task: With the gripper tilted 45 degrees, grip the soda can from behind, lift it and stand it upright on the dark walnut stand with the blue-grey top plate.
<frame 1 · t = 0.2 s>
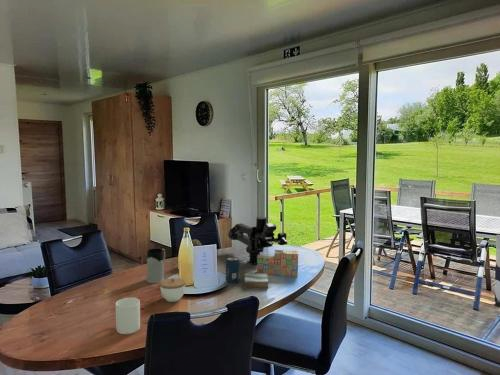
hand: (279, 244, 191), 17 cm above the table, tool horizontal, fingers open, 9 cm apart
decorative egg: (194, 266, 208), on the table
walnut stand: (256, 284, 180), on the table
lidded jar: (172, 299, 162), on the table
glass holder: (158, 278, 188), on the table
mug: (125, 328, 136), on the table
soda can: (232, 282, 183), on the table
stack of blocks: (277, 274, 196), on the table
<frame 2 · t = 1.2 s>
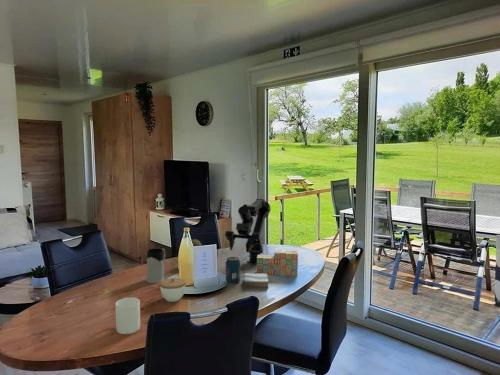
hand: (239, 250, 189), 14 cm above the table, tool tilted 45°, fingers open, 9 cm apart
nothing on the table moved.
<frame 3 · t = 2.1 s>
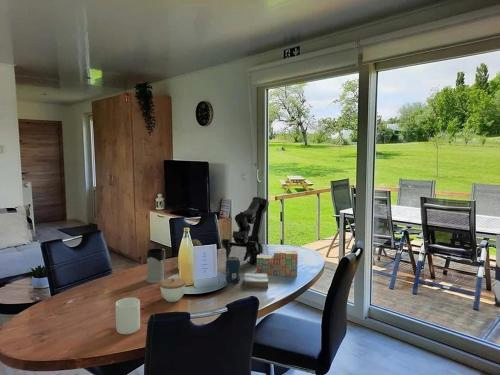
hand: (235, 259, 185), 10 cm above the table, tool tilted 45°, fingers open, 9 cm apart
nothing on the table moved.
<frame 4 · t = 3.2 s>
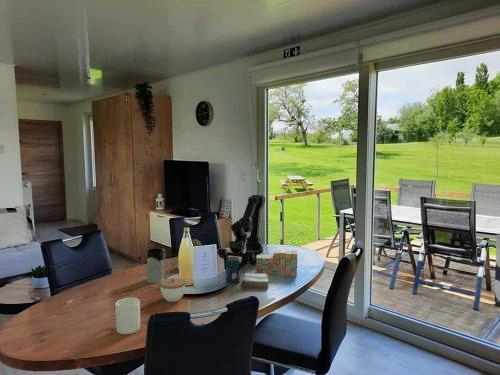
hand: (231, 270, 181), 7 cm above the table, tool tilted 45°, fingers closed on soda can, 7 cm apart
soda can: (232, 282, 183), on the table, touching gripper
everything else where it was.
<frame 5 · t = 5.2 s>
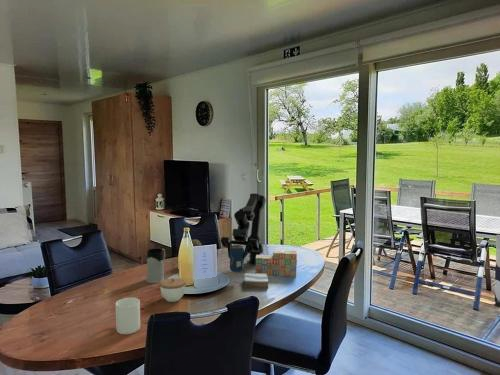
hand: (236, 258, 180), 13 cm above the table, tool tilted 45°, fingers closed on soda can, 7 cm apart
soda can: (236, 270, 182), point 6 cm above the table, touching gripper
everything else where it was.
when the fingers open (11 cm above the table, at t = 6.7 s): soda can drops 1 cm, resting on walnut stand.
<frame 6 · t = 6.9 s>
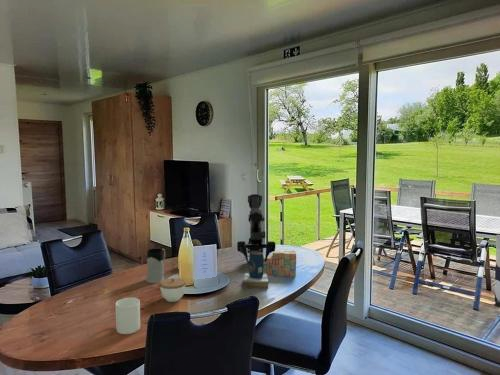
hand: (256, 261, 178), 12 cm above the table, tool tilted 45°, fingers open, 8 cm apart
soda can: (256, 277, 180), point 3 cm above the table, touching walnut stand
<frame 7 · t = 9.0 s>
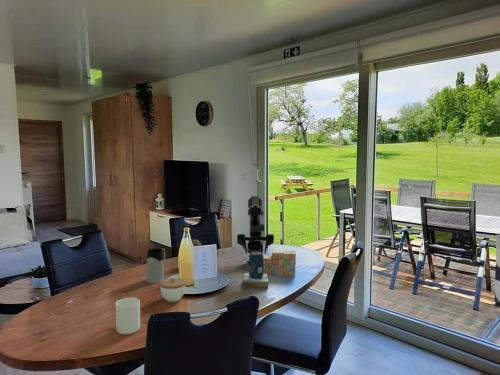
hand: (255, 253, 185), 14 cm above the table, tool tilted 45°, fingers open, 9 cm apart
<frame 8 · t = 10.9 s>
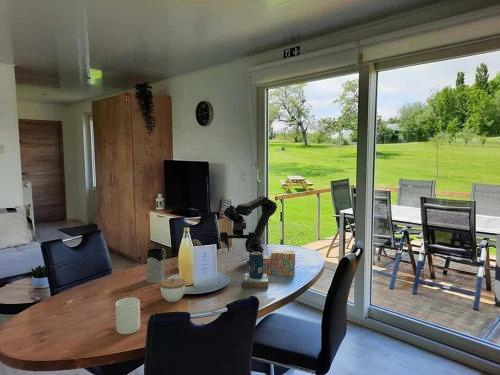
hand: (237, 251, 189), 14 cm above the table, tool tilted 45°, fingers open, 9 cm apart
at the end: soda can 0.1 cm off-centre on the walnut stand, point 3.3 cm above the walnut stand's base; soda can tilted 0°; the gripper is holding nothing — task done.
